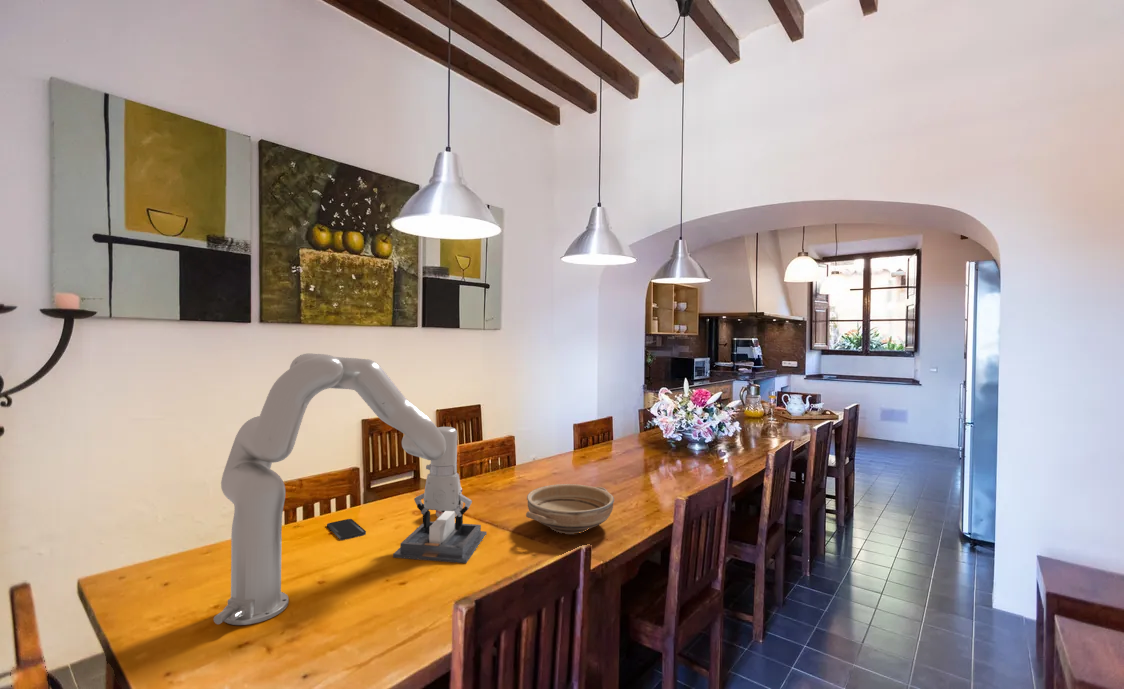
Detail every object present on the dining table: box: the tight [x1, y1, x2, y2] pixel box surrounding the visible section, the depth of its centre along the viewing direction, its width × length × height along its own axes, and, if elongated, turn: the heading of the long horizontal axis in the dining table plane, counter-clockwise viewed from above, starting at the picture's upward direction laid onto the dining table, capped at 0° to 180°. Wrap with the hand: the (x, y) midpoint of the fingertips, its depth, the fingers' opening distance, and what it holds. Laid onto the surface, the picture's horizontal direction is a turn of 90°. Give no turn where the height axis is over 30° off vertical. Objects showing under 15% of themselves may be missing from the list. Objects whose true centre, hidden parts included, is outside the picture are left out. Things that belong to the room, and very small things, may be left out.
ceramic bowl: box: [525, 483, 615, 535], centre depth 164 cm, size 37×29×10 cm
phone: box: [326, 518, 367, 541], centre depth 158 cm, size 8×1×15 cm
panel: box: [429, 511, 456, 545], centre depth 147 cm, size 13×3×7 cm, turn 174°
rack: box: [392, 520, 487, 564], centre depth 147 cm, size 20×21×4 cm
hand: (442, 527), depth 147 cm, fingers open, 9 cm apart
